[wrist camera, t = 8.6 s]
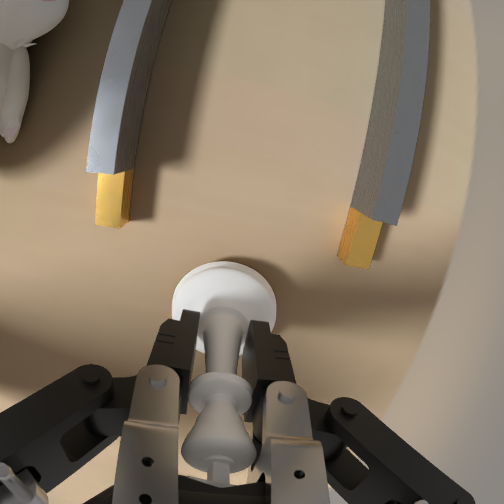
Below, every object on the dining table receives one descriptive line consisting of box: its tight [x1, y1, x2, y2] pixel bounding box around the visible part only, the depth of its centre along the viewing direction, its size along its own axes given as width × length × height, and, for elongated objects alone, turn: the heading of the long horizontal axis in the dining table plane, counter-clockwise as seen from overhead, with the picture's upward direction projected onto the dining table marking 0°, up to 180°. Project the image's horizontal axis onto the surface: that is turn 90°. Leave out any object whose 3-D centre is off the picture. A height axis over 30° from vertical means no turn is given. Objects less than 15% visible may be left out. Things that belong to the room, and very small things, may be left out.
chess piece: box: [172, 261, 276, 488], centre depth 9 cm, size 5×5×10 cm
